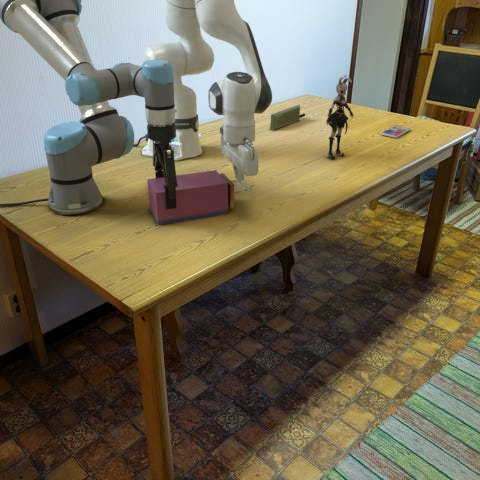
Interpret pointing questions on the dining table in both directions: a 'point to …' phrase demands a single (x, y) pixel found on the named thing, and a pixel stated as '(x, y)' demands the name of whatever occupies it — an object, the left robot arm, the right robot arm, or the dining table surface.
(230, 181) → the drawer
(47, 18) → the left robot arm
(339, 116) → the figurine
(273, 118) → the handheld radio
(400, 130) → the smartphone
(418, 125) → the dining table surface
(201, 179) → the magenta elongated box
